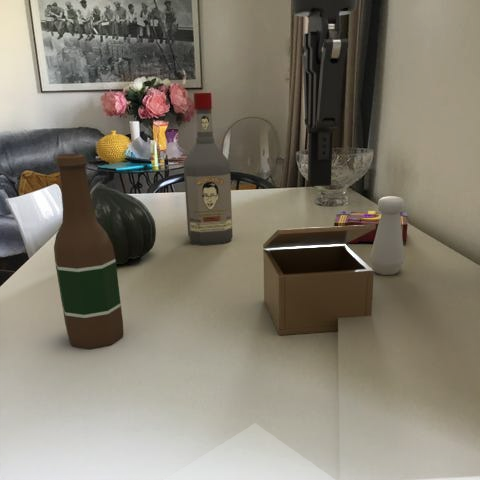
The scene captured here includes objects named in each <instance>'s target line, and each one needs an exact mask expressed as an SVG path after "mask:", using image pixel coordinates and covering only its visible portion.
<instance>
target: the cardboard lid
mask: <svg viewBox="0 0 480 480" xmlns="http://www.w3.org/2000/svg"><path fill="white" fill-rule="evenodd" d="M374 229H376V225H375V224H371V225H353V226H335V227H334V226H322V227H321V226H317V227H302V228H299V227H298V228H284V229H282V228H281V229H277V230H276V231H275V232H274V233H273V234H272V235H271V236H270V237H269V238H268V239H267V240H266V241H265V242H264V243H263V245H262V247H263V249H272V248H289V247H306V246H323V245H341V244H345V245H346V244H349V243H348V242H350V241H352V240H354V239H356V238H358V237H360V236H362V235H364V234H366V233H368V232H370V231H372V230H374Z"/></svg>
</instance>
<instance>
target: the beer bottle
mask: <svg viewBox="0 0 480 480" xmlns="http://www.w3.org/2000/svg"><path fill="white" fill-rule="evenodd" d="M55 165H56V166H57V168H58V172H59V181H60V182H59V183H60V194H61V206H62V221H61V222H62V223H61V224H60V226H59V229H58V231H57V232H56V235H55V239H54V244H53V252H54V263H55V270H56V275H57V281H58V287H59V295H60V300H61V306H62V313H63V317H64V318H63V320H64V325H65V330H66V333H67V337H68V341H69V343H70V345H71V346H72V347H76V348H81V349H87V350H92V349H97V348H102V347H107V346H108V347H109V346H112V345H113V344H115V343H116V342H118V340H120V339H122V338H123V336H124V335H125V334H124V333H125V332H124V320H123V311H122V304H121V303H122V302H121V293H120V287H119V278H118V270H117V264H116V260H115V254H114V249H113V245H112V243H111V241H110V239H109V237H108V235H107V233H106V232H105V230H104V229H103V228H102V227H101V225H100V224H99V223H98V222H97V219H96V216H95V213H94V209H93V205H92V199H91V194H92V193H91V188H90V184H89V180H88V174H87V169H86V166H87V165H88V161H87V159H86V156H85V155H83V154H81V153H67V154H66V153H65V154H59V155H58V156H56V161H55Z"/></svg>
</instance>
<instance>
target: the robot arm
mask: <svg viewBox="0 0 480 480" xmlns="http://www.w3.org/2000/svg"><path fill="white" fill-rule="evenodd" d="M357 7H358V0H291V13H292V15H294V16H295V17H296V16H297V17H307V18H308V23H307V31H306V33H304V34H303V44H302V45H303V46H301V50H300V53H301V59H302V70H303V71H302V73H303V100H304V101H303V102H304V103H303V104H304V119H303V120H304V124H305V126H307V127H306V133H307V134H308V150H307V151H308V152H307V153H308V155H307V158H308V159H307V185H308V186H309V187H327V186H328V187H329V186H332V167H333V165H332V164H333V138H334V137H333V134H334V131H335V129H337V128H338V127H339V125H340V112H341V103H342V102H341V100H342V92H343V83H344V73H345V63H346V62H345V61H346V58H347V52H348V47H349V40H348V38H345V33H344V31H343V30H342V23H341V16H345V15H346V16H347V15H350V14H353V13H354V12H356V10H357Z"/></svg>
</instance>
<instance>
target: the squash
mask: <svg viewBox="0 0 480 480" xmlns="http://www.w3.org/2000/svg"><path fill="white" fill-rule="evenodd" d="M90 194H91V199H92V205H93V209H94V213H95V216H96V219H97V222H98V223H99V224H100V225H101V227H102V228H103V229H104V230H105V232H106V233H107V235H108V237H109V239H110V241H111V243H112V245H113V249H114V254H115V260H116V265H125V264H126V263H127V262H129V260H130V259H133V260H134V259H137V258H142V257H143V256H145V255H147V254H148V253H149V252H151V250H152V249H153V248H154V245H155V244H156V243H155V242H156V239H157V228H156V222H155V219H154V217H153V215H152V213H151V212H150V210H149V208H148V207H147V206H146V205H145V204H144V203H143V202H142V201H141V200H140V199H138V198H136V197H134V196H133V195H131V194H128V193H125V192H122V191H119V190H118V189H114V188H110V187H107V186H106V187H105V186H96V187H95V188H94V190H93V191H92V192H91V193H90Z"/></svg>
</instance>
